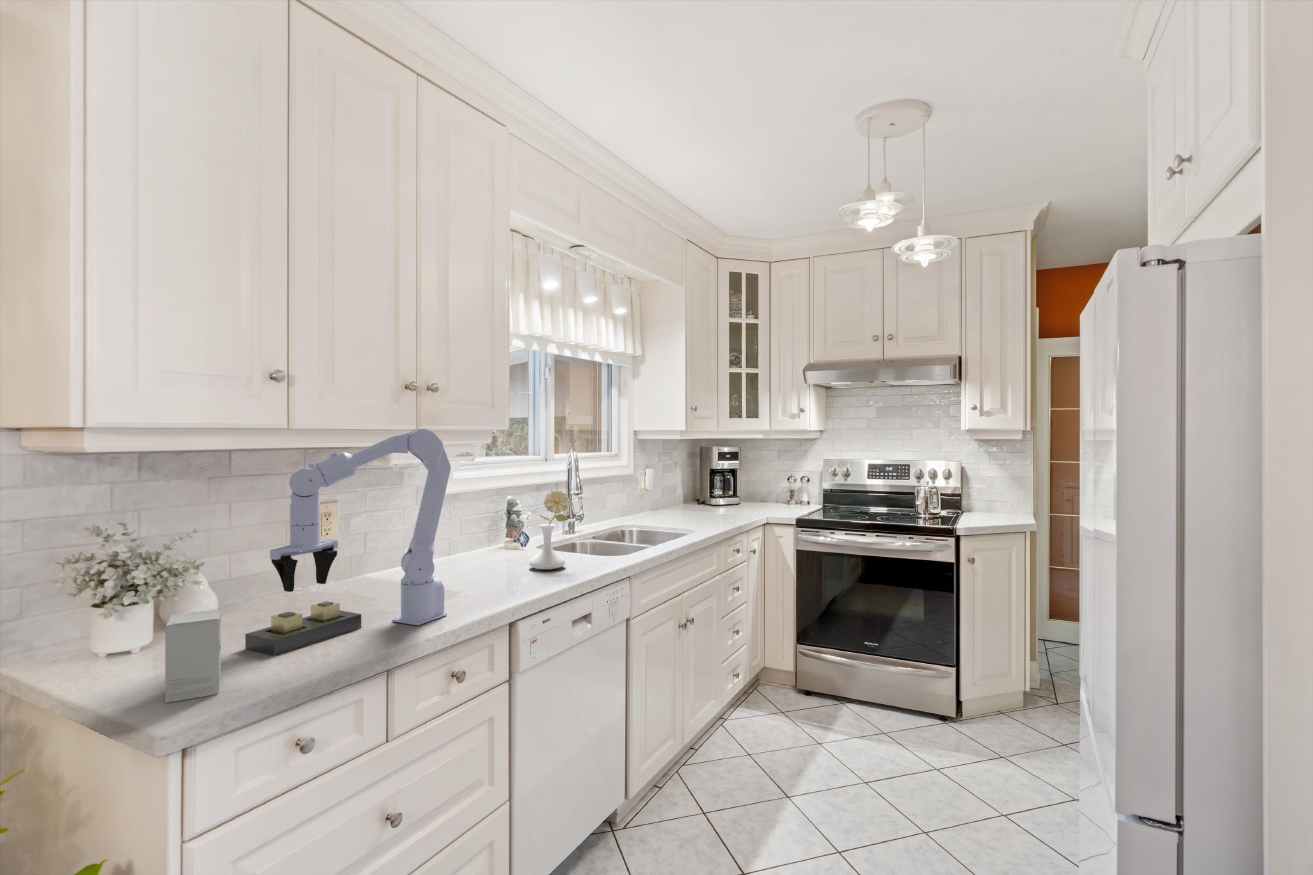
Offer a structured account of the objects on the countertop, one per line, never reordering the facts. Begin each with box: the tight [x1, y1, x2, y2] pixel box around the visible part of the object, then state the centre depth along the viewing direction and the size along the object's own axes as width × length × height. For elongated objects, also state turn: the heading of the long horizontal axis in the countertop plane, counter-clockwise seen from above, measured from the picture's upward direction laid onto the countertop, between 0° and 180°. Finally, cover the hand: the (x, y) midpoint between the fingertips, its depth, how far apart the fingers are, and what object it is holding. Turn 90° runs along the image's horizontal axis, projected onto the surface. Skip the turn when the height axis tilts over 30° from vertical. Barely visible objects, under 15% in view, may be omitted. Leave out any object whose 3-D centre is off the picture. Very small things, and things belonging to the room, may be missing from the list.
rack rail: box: [244, 610, 362, 656], centre depth 137 cm, size 20×9×3 cm, turn 154°
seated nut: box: [310, 600, 341, 623], centre depth 141 cm, size 4×4×6 cm
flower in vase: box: [528, 489, 571, 571], centre depth 206 cm, size 13×11×25 cm
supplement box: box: [164, 608, 222, 703], centre depth 109 cm, size 7×7×13 cm
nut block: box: [270, 611, 303, 635], centre depth 133 cm, size 4×4×6 cm
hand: (305, 587), depth 140 cm, fingers open, 7 cm apart
